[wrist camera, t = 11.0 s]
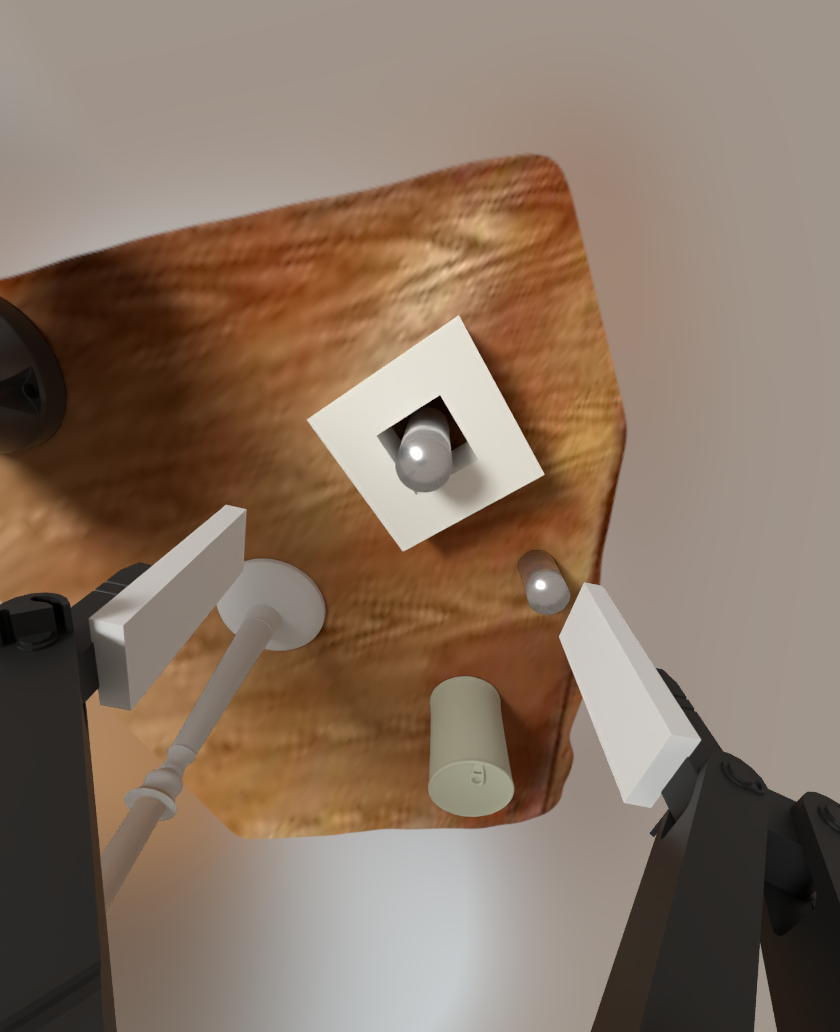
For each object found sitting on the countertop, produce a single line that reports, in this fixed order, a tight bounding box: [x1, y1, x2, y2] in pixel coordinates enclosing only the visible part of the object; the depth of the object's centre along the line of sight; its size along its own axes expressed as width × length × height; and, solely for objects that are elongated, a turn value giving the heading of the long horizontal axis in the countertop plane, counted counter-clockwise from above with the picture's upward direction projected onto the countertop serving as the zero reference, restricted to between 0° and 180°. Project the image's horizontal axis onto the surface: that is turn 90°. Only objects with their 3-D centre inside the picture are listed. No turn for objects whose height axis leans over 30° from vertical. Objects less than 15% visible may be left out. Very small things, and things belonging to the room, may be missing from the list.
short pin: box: [518, 550, 570, 614], centre depth 43 cm, size 4×4×6 cm
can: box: [428, 676, 514, 817], centre depth 49 cm, size 9×9×12 cm
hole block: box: [307, 316, 545, 551], centre depth 37 cm, size 14×14×7 cm
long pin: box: [395, 407, 452, 493], centre depth 35 cm, size 4×4×12 cm
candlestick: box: [100, 558, 326, 912], centre depth 36 cm, size 13×13×30 cm
